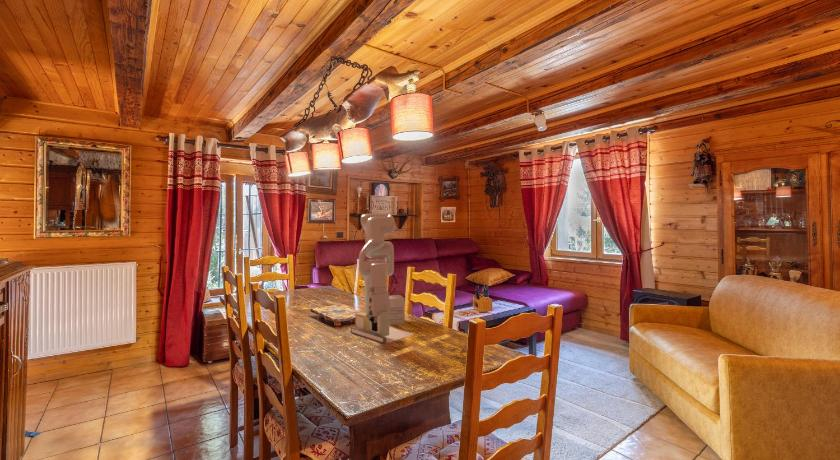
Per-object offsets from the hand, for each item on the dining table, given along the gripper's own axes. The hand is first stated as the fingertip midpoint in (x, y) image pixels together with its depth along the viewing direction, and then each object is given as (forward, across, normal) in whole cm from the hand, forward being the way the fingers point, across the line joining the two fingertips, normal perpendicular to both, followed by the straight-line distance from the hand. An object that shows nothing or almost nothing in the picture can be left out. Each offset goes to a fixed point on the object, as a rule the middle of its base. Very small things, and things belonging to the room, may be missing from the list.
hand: (378, 329), depth 181 cm
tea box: (+2, 0, 0) cm, 2 cm away
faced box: (+4, 0, +11) cm, 12 cm away
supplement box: (+6, +22, +13) cm, 26 cm away
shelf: (+5, +6, +3) cm, 9 cm away
